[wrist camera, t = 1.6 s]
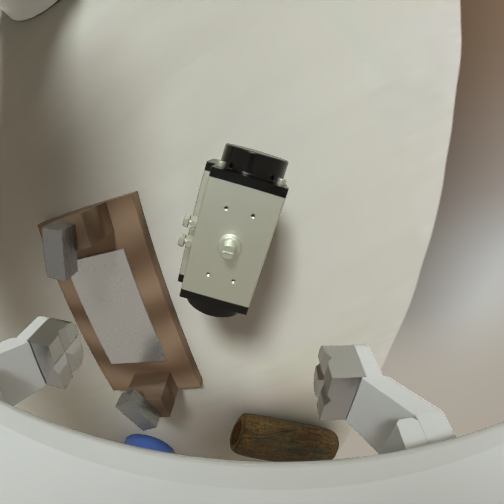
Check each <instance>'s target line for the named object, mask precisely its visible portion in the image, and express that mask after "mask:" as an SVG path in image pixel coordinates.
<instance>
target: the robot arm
mask: <svg viewBox="0 0 504 504" xmlns="http://www.w3.org/2000/svg"><path fill="white" fill-rule="evenodd" d="M56 1H58V0H0V9H1V10H3V11H4V12H5V13H6V14H7V15H8V16H9V17H10V18H11V19H13V20H16V21H22V20H27V19H30V18H32V17H34V16H36V15H38V14H40V13H42V12H43V11H45V10H46V9H48V8H49V7H50V6H52V5H53V4H54V3H55V2H56ZM77 335H78V330H77V327H76V325H75V324H74V323H72V322H68V321H63V320H59V319H54V318H50V317H45V316H38V317H37V318H36V319H35V320H34V321H33V322H32V323H31V324H30V325H29V326H28V327H27V328H26V329H25V330H24V331H23V332H22V333H21V334H20V335H19V336H18V337H17V338H14V337H13V338H10V339H7V340H5V341H2V342H0V504H504V422H501V423H498V424H496V425H493V426H490V427H488V428H485V429H482V430H479V431H476V432H473V433H470V434H467V435H463V436H460V437H456V436H455V434H454V432H453V430H452V428H451V426H450V424H449V422H448V420H447V418H446V416H445V415H444V413H443V411H442V410H440V409H439V408H437V407H435V406H434V405H432V404H431V403H429V402H427V401H426V400H424V399H423V398H421V397H419V396H418V395H416V394H415V393H413V392H412V391H410V390H408V389H407V388H405V387H404V386H402V385H401V384H399V383H398V382H396V381H394V380H393V379H391V378H390V377H388V376H383V375H382V373H381V370H380V368H379V366H378V364H377V362H376V360H375V358H374V355H373V353H372V351H371V349H370V347H369V345H367V344H359V345H345V346H321V347H320V350H319V354H318V358H319V362H320V363H319V364H318V365H317V366H316V368H315V373H314V391H315V395H316V396H317V397H318V398H319V399H318V403H317V408H318V413H319V418H320V420H346V419H347V420H346V421H347V422H348V423H349V424H350V425H351V426H352V427H353V428H354V429H355V430H356V431H357V432H358V433H359V434H360V435H361V436H362V437H363V438H364V439H365V440H366V441H367V442H368V443H369V444H370V445H371V446H372V447H373V448H374V449H375V450H376V451H377V452H378V453H379V454H378V455H372V456H364V457H356V458H348V459H347V458H346V459H336V460H322V461H300V462H260V461H238V460H224V459H213V458H203V457H195V456H187V455H180V454H174V453H168V452H162V451H156V450H151V449H146V448H141V447H136V446H132V445H127V444H123V443H119V442H115V441H111V440H107V439H104V438H100V437H97V436H93V435H90V434H86V433H83V432H80V431H77V430H74V429H71V428H68V427H65V426H62V425H59V424H56V423H53V422H51V421H48V420H45V419H43V418H40V417H38V416H35V415H33V414H30V413H28V412H26V411H23V410H21V409H19V408H16V407H14V405H15V404H17V403H19V402H20V401H22V400H23V399H25V398H26V397H28V396H29V395H31V394H33V393H34V392H36V391H37V390H39V389H40V388H42V387H44V386H45V385H46V384H48V385H52V386H55V387H59V388H63V389H65V388H66V386H67V385H68V383H69V382H70V380H71V379H72V377H73V376H72V372H73V371H75V370H77V369H78V368H79V367H80V365H81V364H82V360H83V348H82V344H81V343H80V342H79V340H78V339H77Z"/></svg>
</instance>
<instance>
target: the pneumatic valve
mask: <svg viewBox="0 0 504 504" xmlns="http://www.w3.org/2000/svg"><path fill="white" fill-rule="evenodd" d="M287 166H288V161H286V160H284V159H281V158H279V157H276V156H273V155H270V154H266V153H263V152H260V151H257V150H253V149H250V148H246V147H242V146H238V145H234V144H229V143H227V144H226V145H225V149H224V152H223V155H222V159H221V160H217V159H211V160H209V161H207V163H206V167H205V170H204V174H203V178H202V182H201V185H200V189H199V193H198V197H197V201H196V205H195V209H194V213H193V217H192V219H191V215H189V214H186V215H185V217H184V220H183V226H185V227H188V225H189V224H190V229H189V233H188V237H187V239H186V235H185V234H181V235H180V238H179V241H178V245H180V246H183V245H184V243H185V250H184V255H183V259H182V264H181V268H180V273H179V278H178V281H179V282H183V283H182V287H181V292H180V296H181V297H184V298H187V299H188V301H189V303H190V304H191V305H192V306H193V307H194V308H195V309H197V310H199V311H200V312H202V313H205V314H207V315H211V316H215V317H230V316H234V315H236V314H237V313H241V314H245V315H246V314H247V311H248V308H249V305H250V302H251V300H252V297H253V294H254V291H255V288H256V285H257V282H258V279H259V276H260V273H261V270H262V267H263V264H264V261H265V258H266V255H267V252H268V249H269V246H270V243H271V240H272V237H273V234H274V231H275V228H276V225H277V222H278V219H279V216H280V213H281V210H282V207H283V204H284V201H285V198H286V195H287V192H288V187H287V185H286V180H285V179H283V178H284V175H285V172H286V169H287Z"/></svg>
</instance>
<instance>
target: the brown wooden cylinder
mask: <svg viewBox="0 0 504 504" xmlns="http://www.w3.org/2000/svg"><path fill="white" fill-rule="evenodd" d="M230 447H231V449H232V451H233V452H235V453H237V454H240V455H243V456H247V457H252V458H256V459H262V460H268V461H275V462H300V461H322V460H332V459H333V458H334V457H335V455H336V453H337V450H338V447H339V441H338V437H337V435H336V434H335V433H334V432H333V431H331V430H328V429H325V428H321V427H316V426H312V425H307V424H302V423H297V422H291V421H286V420H281V419H276V418H272V417H266V416H260V415H253V414H243V415H242V416H241V417H240V418H239V419H238V421H237V422H236V424H235V426H234V428H233V431H232V433H231V437H230Z"/></svg>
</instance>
